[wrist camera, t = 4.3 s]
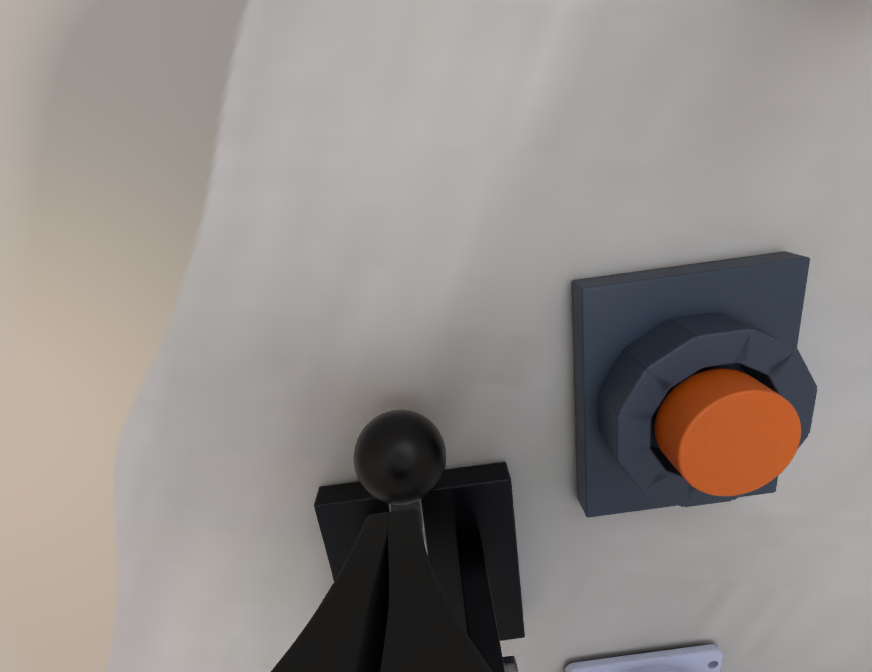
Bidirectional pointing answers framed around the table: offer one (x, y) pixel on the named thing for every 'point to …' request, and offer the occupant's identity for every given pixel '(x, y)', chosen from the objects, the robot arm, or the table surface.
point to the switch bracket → (451, 548)
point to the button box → (676, 365)
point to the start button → (727, 432)
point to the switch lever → (401, 461)
